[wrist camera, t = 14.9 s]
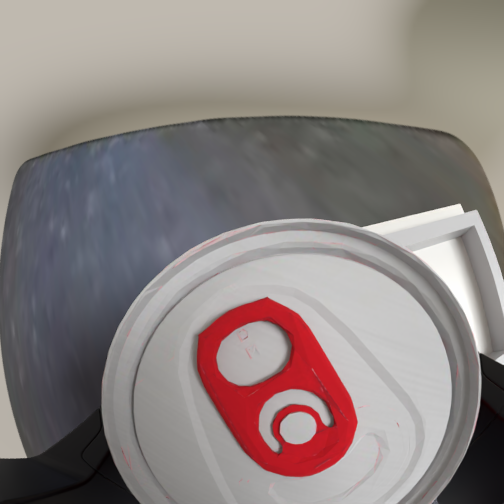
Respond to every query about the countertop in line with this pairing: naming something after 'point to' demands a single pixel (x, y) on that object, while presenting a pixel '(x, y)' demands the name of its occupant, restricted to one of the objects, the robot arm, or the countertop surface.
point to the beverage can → (292, 373)
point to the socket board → (459, 266)
